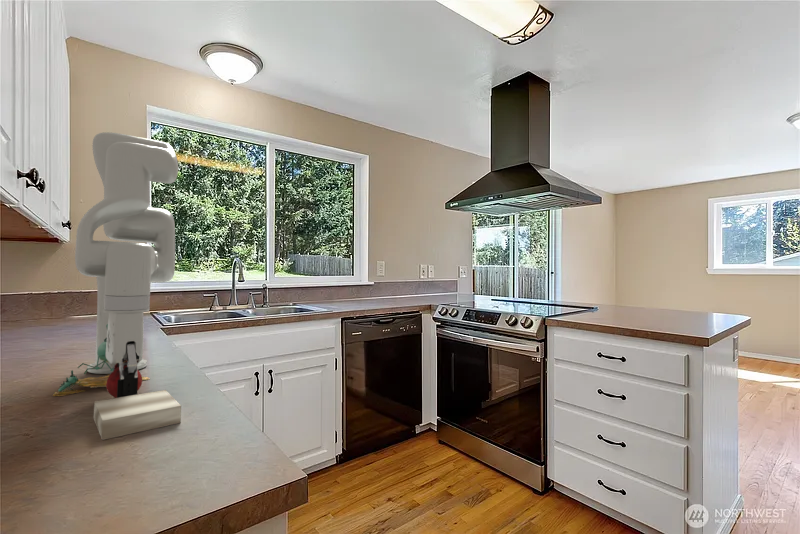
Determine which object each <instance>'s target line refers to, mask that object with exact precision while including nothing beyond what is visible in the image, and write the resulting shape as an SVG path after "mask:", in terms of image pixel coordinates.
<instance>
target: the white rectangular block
mask: <svg viewBox="0 0 800 534" xmlns="http://www.w3.org/2000/svg"><path fill="white" fill-rule="evenodd" d="M93 420H94V421H93V422H94V424H95V425H96V429H97V431H98V434H99V436H100V438H101V440H102V441H103V440H109V439H113V438H117V437H122V436H127V435H130V434H136V433H140V432H144V431H149V430H154V429H158V428H159V429H160V428H164V427H168V426H172V425H176V424H181V421H182V405H181V404H180V403H179V402H178V401H177V400H176V399H175V398H174V397H173V396H172V395H171V394H170V393H169V392H168V391H167V390H166V389H163V390H157V391H151V392H144V393H139V394H138V393H137V395H131V396H125V397H119V398H115V397H113V398H108V399H107V398H106V399H102V400H95V401H94V402H93Z"/></svg>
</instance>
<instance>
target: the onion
mask: <svg viewBox="0 0 800 534" xmlns="http://www.w3.org/2000/svg"><path fill="white" fill-rule="evenodd" d="M125 362H127V360H126V361H124V362H123V363H125ZM125 367H127V366H125ZM125 367H124V369H125ZM137 371H138V391H139V390H140V388H141V387H142V384H143V380H142V377H143V376H142V374H141V372H140V369H137ZM108 376H109V377H108V380H107V383H106V387H105V388H106V391H107V392H108V394H109V395H111V397H113V398H117V383H118V379H120V374H119V367H117V368H116V369H115V370H114V371H113V372H112V373H111V374H109V375H108Z"/></svg>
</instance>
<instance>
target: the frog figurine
mask: <svg viewBox="0 0 800 534" xmlns="http://www.w3.org/2000/svg"><path fill="white" fill-rule="evenodd" d="M106 327H107V329H108V324H107V325H106ZM106 342H107V337H106V338H105V339H104V342H103V343H101V344H100V346H99V347H98V352H97V354H98V361H99V359H100V360H102V361H103V362H104V363H103V362H101V363H100V364H102V363H103V365H104V364H105V363H106V362H109V361H108V360H107V359H106ZM98 361H97V365H96V366H95V367H96V368H95V367H93V366H90V364H87V363H84V362H83V363H81V364H80V365H78V366H77V369H79V368H80V367H82V366H83V365H84V366H86V367H87V366H90V367H93V368H88V369H96V370H98V369H102V367H103V365H102V367H101V368H100V367H98V365H100V364H98ZM106 364H107V363H106ZM107 366H108V367H109V368H110V366H109V365H108V364H107ZM88 369H87V368H86V369H85V371H84V373H83V375H86V374H87V372H88V371H87V370H88ZM110 369H111V368H110ZM70 371H71V372H70V375H69V376H67V377H66V378H65V380H64V381H63V383H61V384H60V386H59V388H58V390H57V391H55V392H54V394H52V396H53V397H64V396H69V395H74V394H78V393H82V392H85V389H83V390H82V389H74V387H75V386H79V387H89V388H91V389H95V388H107V387H106V383H107V380H108V377H109V376H110V375H105V376H99V377H96V376H95V377H93V376H92V377H84V378H78V376H77V375H75V374H74V370H73V369H72V370H70ZM110 371H113V368H112V369H111V370H110ZM150 379H151V378H149V376H148V377H147V376H142V381H147V380H150Z"/></svg>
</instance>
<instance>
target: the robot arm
mask: <svg viewBox="0 0 800 534" xmlns="http://www.w3.org/2000/svg"><path fill="white" fill-rule="evenodd" d="M91 146H92V155H93V160H94V165H95V166H96V170H97V172H98V175H99V176H100V179H101V182H102V186H103V199H101V200H100V201H99V202H97V203H96V204H95V205H93V206H91V208H89V209H88V210H87V212H85V214H84V215H82V218H81V219H80V221H79V223H78V226H77V229H76V235H75V236H76V239H75V249H74V251H75V253H74V261H75V267H76V270H77V272H79V273H80V274H81V275H83V276H85V277H96V285H97V289H96V290H97V300H96V301H97V302H96V303H97V305H96V308H97V309H96V311H97V312H96V330H95V331H96V336H95V337H96V338H95V361H94V362H93V363H90V364H89V365H90V366H93V367H95V366H96V365H97V361H98V354H97V352H98V347H99V346H100V344H101V343H103V342H104V339H105V338H106V337H107V342H106V359H107V360H108V361H109V362H106V363H107V364H108V365H109V366H110V368H111V369H112V368H113V371H114V370H115V369H116V368H117V367H119V374H120V379H118V383H117V398H119V397H125V396H131V395H137V394H138V391H139V390H138V371H137V369H138V370H141V369H144V368H145V367H147V366H148V360H147V359H144V358H143V353H144V352H143V351H144V322H145V321H144V313H148V312H150V306H151V304H150V302H151V283H152V284H153V283H168V282H170V281H171V280H172V279H173V278H174V275H175V272H176V271H175V269H176V227H175V226H176V225H175V219H174V216H173V214H172V213H171V211H169V210H166V209H165V208H160V207H159V208H158V207H150V203H151V197H150V195H151V194H150V193H151V192H150V191H151V190H150V188H151V187H150V186H151V185H150V182H152V183H153V182H154V183H159V184H160V183H162V184H174V183H175V181H177V178H178V175H179V161H178V157H177V155H176V152H175V150H174V148H173V147H172V145H170V144H169V143H167V142H164V141H160V140H156V139H150V138H145V137H141V136H135V135H130V134H125V133H118V132H110V131H109V132H107V131H106V132H99V133H97V134H96V135H95V136H94V137H93V138H92V145H91ZM101 226H102V227H103V231H104V234H105V236H106V238H109V239H110V240H94V233H95V231H96V230H97V229H98V228H100V227H101ZM148 243H150V244H153V245H154V246H152V245H150V244H148ZM107 324H108V329H107V327H106V325H107ZM126 360H127V362H125V363H123V362H124V361H126ZM101 362H103V361H102V360H100V359H99V361H98V364H100V363H101ZM103 363H104V362H103ZM103 363H102V364H100V365H98V367H100V368H101V367H102V365H103ZM106 363H105V364H104V365H103V367H102V369H98V370H96V369H88V368H93V367H90V366H87V365H86V370H87V369H88V370H87V372H88V373H90V374H96V375H110V374H111V373H112V372H113V371H110V370H111V369H110V368H109V367H108V366H107V364H106ZM125 366H127V367H125ZM124 367H125V369H124ZM95 368H96V367H95Z"/></svg>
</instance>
